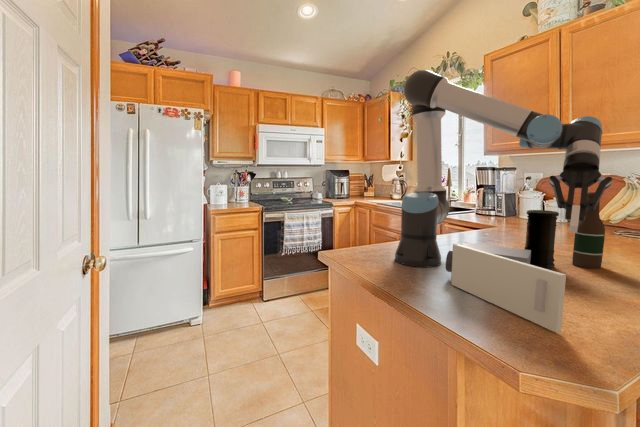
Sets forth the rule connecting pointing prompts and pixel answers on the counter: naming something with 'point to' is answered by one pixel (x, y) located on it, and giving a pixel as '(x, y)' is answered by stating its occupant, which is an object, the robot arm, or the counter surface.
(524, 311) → the side door
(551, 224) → the container
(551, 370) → the counter surface
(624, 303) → the counter surface
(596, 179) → the robot arm
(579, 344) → the counter surface
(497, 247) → the camera case
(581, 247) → the beer bottle
